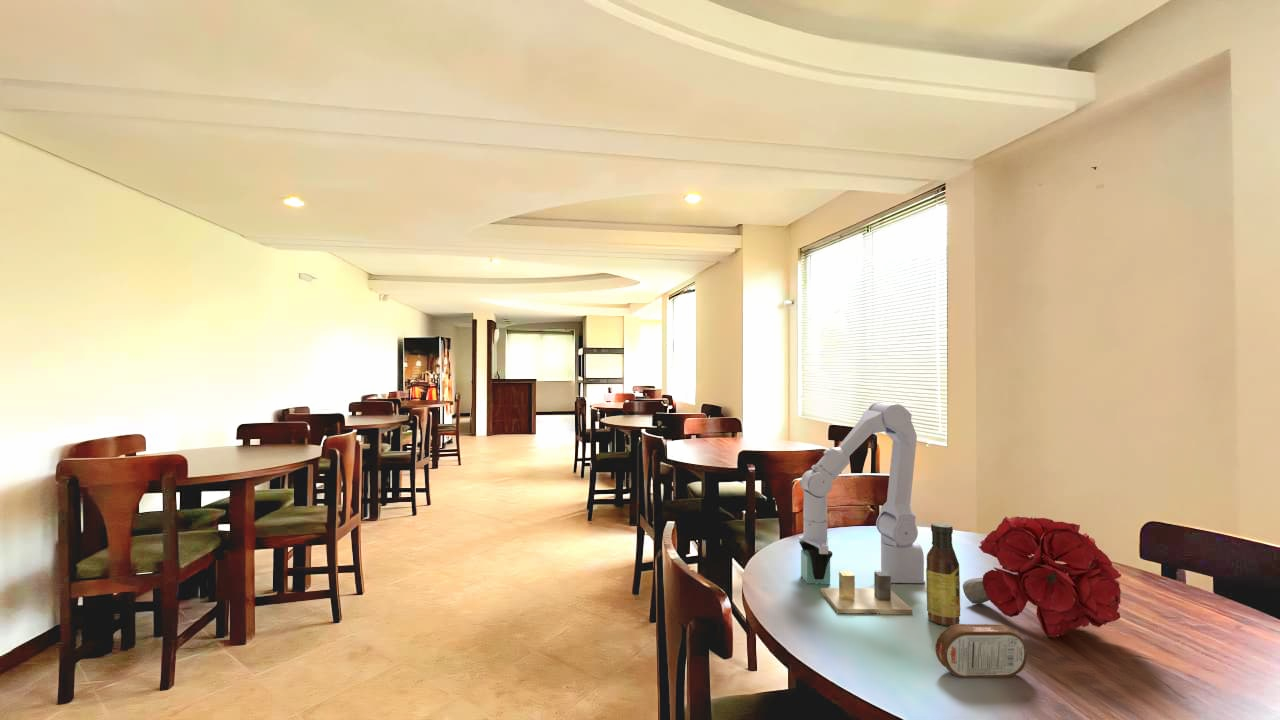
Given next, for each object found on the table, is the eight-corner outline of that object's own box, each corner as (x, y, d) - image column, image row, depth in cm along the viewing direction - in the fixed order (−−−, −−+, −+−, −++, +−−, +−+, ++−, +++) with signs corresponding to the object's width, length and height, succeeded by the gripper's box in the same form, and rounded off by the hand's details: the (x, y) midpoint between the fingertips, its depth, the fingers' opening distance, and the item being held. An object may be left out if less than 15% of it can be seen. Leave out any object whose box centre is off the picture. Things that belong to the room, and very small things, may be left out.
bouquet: (957, 652, 123) (1099, 630, 100) (915, 538, 134) (1034, 495, 111) (1024, 641, 131) (1169, 618, 108) (979, 535, 143) (1101, 494, 120)
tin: (1018, 670, 102) (1018, 621, 103) (1031, 680, 99) (1031, 629, 99) (934, 671, 102) (934, 622, 102) (944, 681, 99) (944, 630, 99)
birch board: (889, 592, 138) (889, 565, 138) (912, 614, 126) (912, 583, 126) (820, 592, 138) (820, 564, 138) (837, 613, 126) (837, 583, 126)
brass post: (850, 595, 133) (850, 571, 133) (854, 600, 130) (854, 575, 131) (839, 595, 133) (839, 571, 133) (842, 600, 130) (842, 575, 131)
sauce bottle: (964, 628, 119) (964, 530, 119) (931, 625, 120) (931, 528, 120) (954, 615, 125) (953, 522, 125) (922, 612, 126) (922, 520, 127)
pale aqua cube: (823, 576, 149) (823, 550, 149) (830, 584, 143) (830, 557, 143) (801, 576, 149) (801, 549, 149) (807, 584, 143) (807, 557, 143)
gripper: (791, 512, 153) (791, 564, 153) (807, 527, 139) (807, 584, 139) (818, 512, 153) (818, 564, 153) (837, 527, 139) (837, 585, 138)
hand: (815, 574), depth 146 cm, fingers closed on pale aqua cube, 6 cm apart
